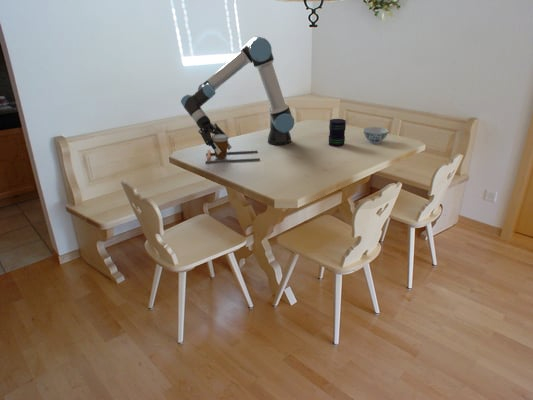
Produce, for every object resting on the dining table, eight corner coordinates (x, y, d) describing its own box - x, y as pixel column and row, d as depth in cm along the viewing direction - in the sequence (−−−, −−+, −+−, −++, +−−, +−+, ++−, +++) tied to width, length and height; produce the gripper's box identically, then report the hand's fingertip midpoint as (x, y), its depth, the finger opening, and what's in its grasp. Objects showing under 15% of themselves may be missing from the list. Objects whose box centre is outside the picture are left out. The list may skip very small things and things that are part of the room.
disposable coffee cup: (226, 159, 219) (225, 138, 214) (210, 158, 221) (208, 137, 216) (231, 154, 227) (230, 134, 222) (215, 153, 229) (214, 133, 224)
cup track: (257, 152, 233) (257, 147, 232) (259, 160, 219) (259, 155, 218) (206, 154, 230) (206, 149, 229) (205, 163, 217) (205, 158, 215)
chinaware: (381, 147, 238) (382, 134, 235) (358, 143, 247) (359, 130, 243) (390, 141, 249) (392, 129, 246) (368, 137, 257) (369, 125, 254)
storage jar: (327, 146, 242) (328, 122, 235) (329, 141, 250) (330, 118, 244) (343, 147, 239) (345, 123, 233) (345, 142, 248) (347, 119, 241)
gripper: (210, 119, 233) (233, 149, 231) (184, 127, 216) (209, 159, 215) (216, 111, 228) (240, 142, 226) (191, 119, 211) (216, 152, 210)
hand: (225, 150), depth 221 cm, fingers closed on disposable coffee cup, 9 cm apart
